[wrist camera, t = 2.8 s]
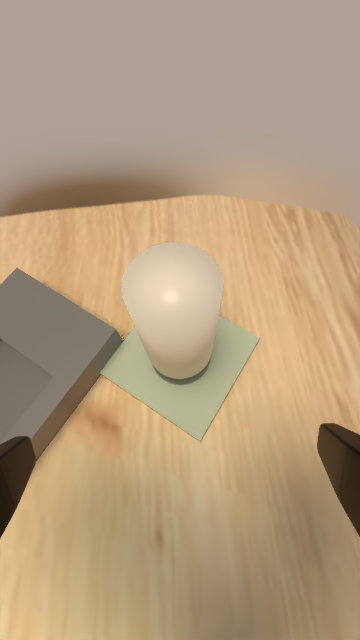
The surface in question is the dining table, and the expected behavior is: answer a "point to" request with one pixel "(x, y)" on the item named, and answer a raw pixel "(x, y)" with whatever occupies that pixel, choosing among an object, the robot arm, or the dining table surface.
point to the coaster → (190, 399)
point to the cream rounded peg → (174, 307)
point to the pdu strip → (45, 358)
